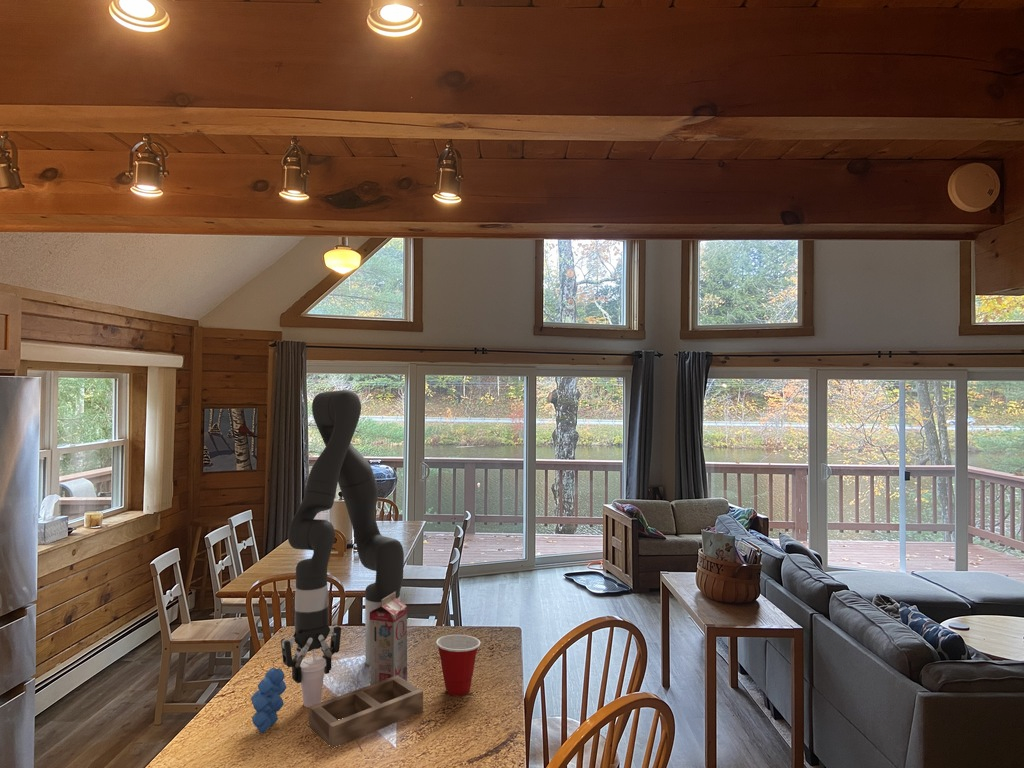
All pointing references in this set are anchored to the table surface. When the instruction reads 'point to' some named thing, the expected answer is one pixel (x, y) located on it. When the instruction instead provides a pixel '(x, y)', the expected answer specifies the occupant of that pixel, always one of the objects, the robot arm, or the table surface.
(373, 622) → the juice carton
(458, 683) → the plastic cup
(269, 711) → the grapes
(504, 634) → the table surface
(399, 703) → the slot rack
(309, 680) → the smoothie
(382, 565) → the robot arm
